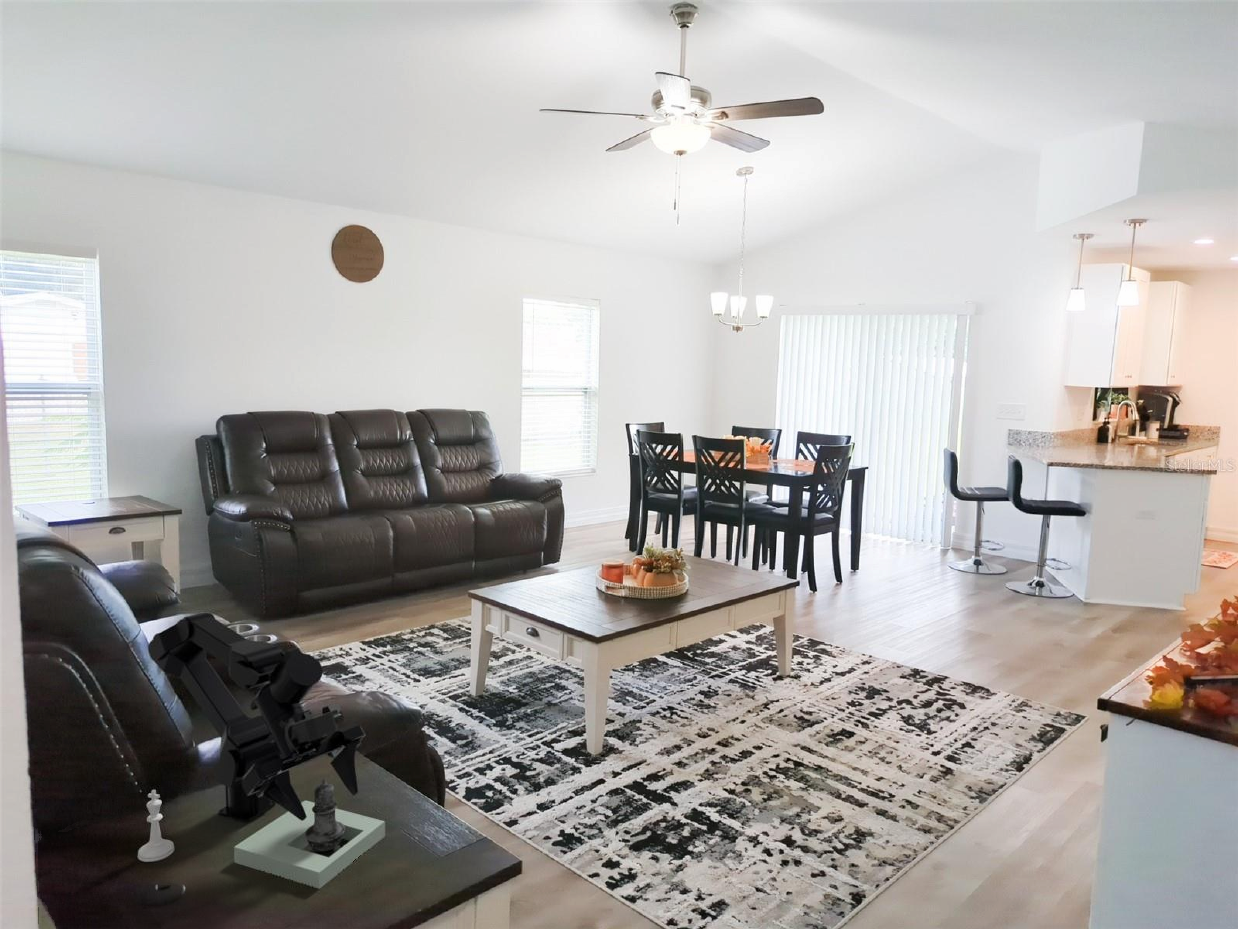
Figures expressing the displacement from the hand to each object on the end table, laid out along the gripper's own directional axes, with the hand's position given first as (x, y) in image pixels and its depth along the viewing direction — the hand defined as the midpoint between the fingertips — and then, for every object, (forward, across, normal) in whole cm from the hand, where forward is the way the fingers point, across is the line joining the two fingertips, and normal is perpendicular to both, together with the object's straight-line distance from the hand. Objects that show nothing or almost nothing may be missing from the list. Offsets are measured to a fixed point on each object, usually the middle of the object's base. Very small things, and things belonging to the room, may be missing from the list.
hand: (330, 806), depth 129 cm
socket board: (+3, -1, +8) cm, 9 cm away
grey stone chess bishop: (+5, 0, +7) cm, 8 cm away
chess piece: (-10, -15, +21) cm, 28 cm away
